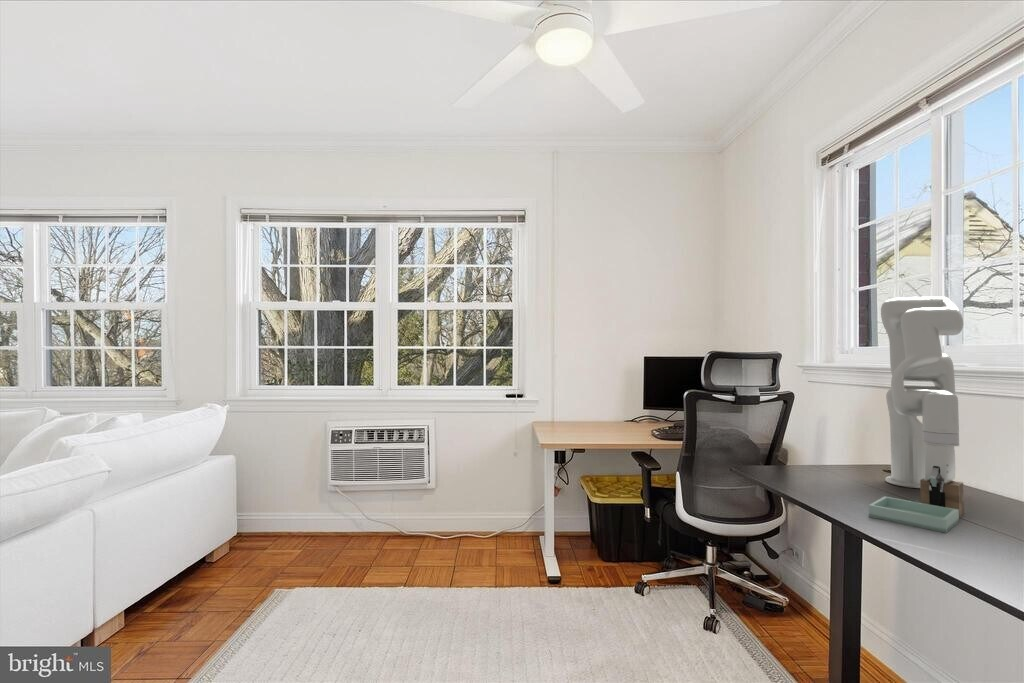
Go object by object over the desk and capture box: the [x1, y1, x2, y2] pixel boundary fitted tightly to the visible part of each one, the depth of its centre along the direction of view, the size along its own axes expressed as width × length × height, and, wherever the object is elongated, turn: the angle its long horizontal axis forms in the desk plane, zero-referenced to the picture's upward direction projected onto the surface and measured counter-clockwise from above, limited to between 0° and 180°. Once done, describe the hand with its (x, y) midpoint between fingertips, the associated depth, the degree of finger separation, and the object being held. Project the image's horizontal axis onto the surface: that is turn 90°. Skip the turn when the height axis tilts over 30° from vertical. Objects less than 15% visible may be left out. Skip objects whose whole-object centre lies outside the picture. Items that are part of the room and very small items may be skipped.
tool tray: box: [868, 495, 960, 534], centre depth 132 cm, size 13×16×3 cm
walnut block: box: [919, 478, 965, 518], centre depth 138 cm, size 5×8×8 cm, turn 39°
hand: (942, 503), depth 138 cm, fingers open, 9 cm apart
